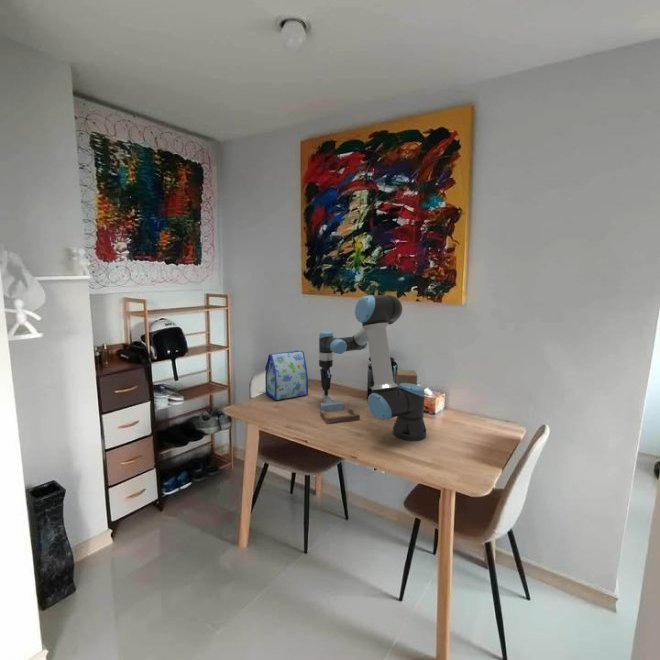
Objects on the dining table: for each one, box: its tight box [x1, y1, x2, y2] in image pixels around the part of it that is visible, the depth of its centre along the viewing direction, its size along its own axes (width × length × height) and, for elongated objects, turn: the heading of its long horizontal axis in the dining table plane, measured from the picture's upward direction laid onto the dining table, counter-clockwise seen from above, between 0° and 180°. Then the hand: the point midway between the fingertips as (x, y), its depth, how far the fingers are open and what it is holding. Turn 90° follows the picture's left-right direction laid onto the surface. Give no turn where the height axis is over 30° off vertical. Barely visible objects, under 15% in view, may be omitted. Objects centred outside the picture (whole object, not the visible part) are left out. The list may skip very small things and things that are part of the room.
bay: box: [319, 407, 361, 425], centre depth 195 cm, size 12×17×2 cm
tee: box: [319, 396, 345, 413], centre depth 210 cm, size 12×12×4 cm
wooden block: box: [395, 369, 418, 386], centre depth 209 cm, size 10×10×20 cm
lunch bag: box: [264, 349, 309, 401], centre depth 226 cm, size 22×17×26 cm
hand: (325, 400), depth 217 cm, fingers closed
